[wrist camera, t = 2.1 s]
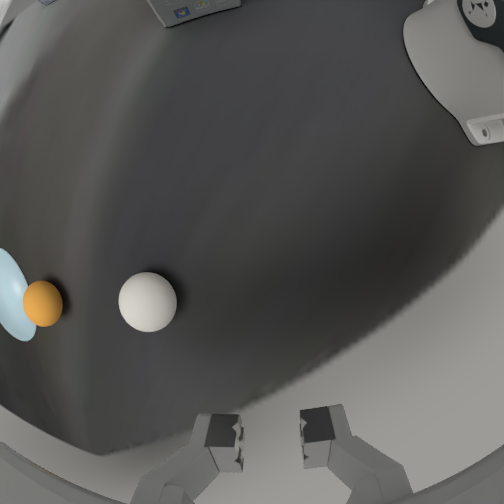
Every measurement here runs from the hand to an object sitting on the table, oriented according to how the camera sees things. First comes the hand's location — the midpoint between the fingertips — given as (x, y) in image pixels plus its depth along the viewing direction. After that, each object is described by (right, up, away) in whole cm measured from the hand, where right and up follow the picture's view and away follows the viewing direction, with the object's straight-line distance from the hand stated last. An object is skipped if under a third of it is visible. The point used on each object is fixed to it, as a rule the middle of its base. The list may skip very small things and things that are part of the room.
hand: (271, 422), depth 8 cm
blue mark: (-35, 0, +17) cm, 39 cm away
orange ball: (-23, +1, +14) cm, 27 cm away
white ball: (-9, +2, +13) cm, 16 cm away
